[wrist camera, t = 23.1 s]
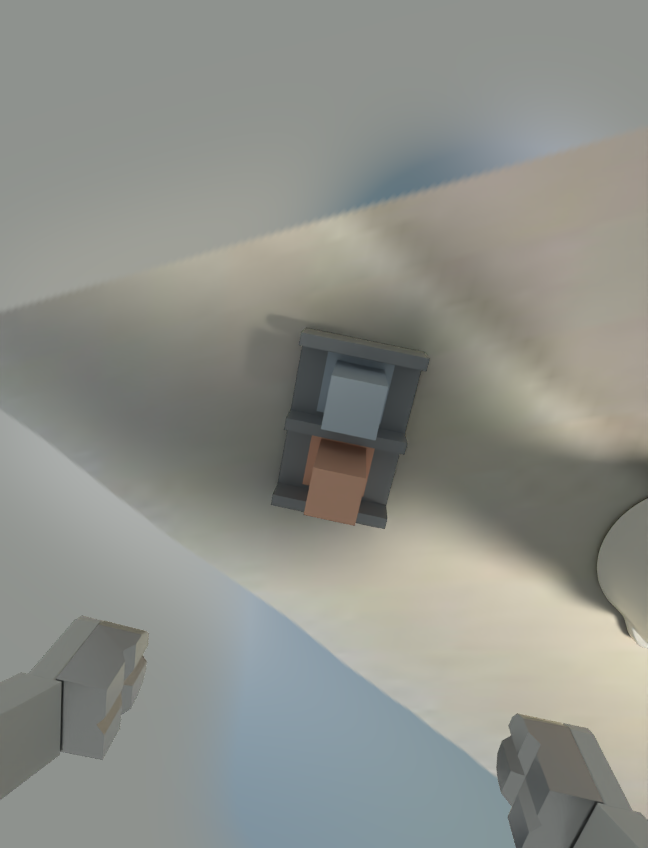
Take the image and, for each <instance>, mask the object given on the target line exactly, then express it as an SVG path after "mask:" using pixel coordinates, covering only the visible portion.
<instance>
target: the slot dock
mask: <svg viewBox="0 0 648 848" xmlns="http://www.w3.org/2000/svg"><path fill="white" fill-rule="evenodd" d="M299 345H301V346H302V350H301V356H300V361H299V367H298V373H297V378H296V384H295V390H294V395H293V401H292V407H291V411H290V412H289V414H288V416H287V417H286V422H285V428H284V430H287V435H286V440H285V446H284V452H283V457H282V463H281V469H280V474H279V480H278V484H277V486H276V488H275V491H274V493H273V497H272V502H271V505H274V506H279V507H284V508H288V509H293V510H298V511H302V512H304V511H305V506H306V501H307V496H308V491H309V486H310V481H311V476H312V471H313V466H314V463H315V459H316V455H317V452H318V448H319V445H320V441H321V439H324V440H329V441H334V442H339V443H343V444H348V445H353V446H358V447H362V448H366V482H365V486H364V490H363V494H362V498H361V503H360V507H359V511H358V515H357V519H356V523H358V524H363V525H368V526H372V527H377V528H382V529H385V526H386V522H387V510H386V504H387V500H388V496H389V492H390V488H391V485H392V481H393V477H394V473H395V469H396V465H397V462H398V458H399V454H403V455H404V454H405V450H406V447H407V440H406V436H405V431H406V427H407V423H408V419H409V416H410V412H411V408H412V404H413V400H414V396H415V393H416V389H417V385H418V381H419V377H420V373H421V370H422V371H427V367H428V363H429V360H430V358H429V357H428V356H427V355H426V354H425V352H422V351H417V350H412V349H407V348H403V347H398V346H393V345H388V344H383V343H378V342H373V341H368V340H363V339H359V338H354V337H349V336H344V335H339V334H334V333H329V332H324V331H320V330H315V329H310V328H306V329H305V330H303V331H302V332H301V336H300V342H299ZM337 360H340V361H344V362H349V363H354V364H359V365H364V366H369V367H374V368H378V369H383V370H385V374H386V378H387V383H388V391H387V395H386V399H385V403H384V407H383V412H382V416H381V420H380V424H379V428H378V432H377V436H376V440H371V439H366V438H361V437H356V436H352V435H347V434H342V433H337V432H333V431H328V430H323V429H321V426H322V421H323V416H324V411H325V406H326V401H327V396H328V391H329V386H330V381H331V376H332V373H333V370H334V367H335V364H336V362H337Z"/></svg>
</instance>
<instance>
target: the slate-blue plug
mask: <svg viewBox="0 0 648 848" xmlns="http://www.w3.org/2000/svg"><path fill="white" fill-rule="evenodd" d="M387 391H388V383H387V378H386V374H385V370H383V369H378V368H374V367H369V366H364V365H359V364H354V363H349V362H344V361H340V360H337V362H336V364H335V367H334V370H333V373H332V376H331V381H330V386H329V391H328V396H327V401H326V406H325V411H324V416H323V421H322V426H321V429H323V430H328V431H333V432H337V433H342V434H347V435H352V436H356V437H361V438H366V439H371V440H376V436H377V432H378V428H379V424H380V420H381V416H382V412H383V407H384V403H385V399H386V395H387Z"/></svg>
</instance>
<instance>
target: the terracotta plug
mask: <svg viewBox="0 0 648 848" xmlns="http://www.w3.org/2000/svg"><path fill="white" fill-rule="evenodd" d="M365 482H366V448H362V447H358V446H353V445H348V444H343V443H339V442H334V441H329V440H324V439H321V441H320V445H319V448H318V452H317V455H316V459H315V463H314V466H313V471H312V476H311V481H310V486H309V491H308V496H307V501H306V506H305V511H304V515H307V516H312V517H317V518H321V519H326V520H331V521H335V522H340V523H344V524H349V525H354V526H355V523H356V519H357V515H358V511H359V507H360V503H361V498H362V494H363V490H364V486H365Z"/></svg>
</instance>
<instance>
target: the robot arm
mask: <svg viewBox="0 0 648 848" xmlns="http://www.w3.org/2000/svg"><path fill="white" fill-rule="evenodd" d="M597 575H598V580H599V584H600V587H601V589H602V591H603V593H604V594H605V596H606V598H607V599H608V600H609V601H610V603H611V604H612V605H613V606H614V607H615V608H616V609H617V610H618V611H619V612H620V613H621V614H622V615H623V617H624V619H625V623H626V627H627V630H628V633H629V635H630V636H631V638H632V639H633V640H634V641H635V642H636V643H637V644H638V645H639V646H641V647H643V648H648V498H647V499H645V500H643V501H642V502H640V503H638V504H637V505H635V506H634V507H632V508H631V509H630V510H628V511H627V512H626V513H625V514H624V515H622V516H621V517H620V518H619V519H618V520H617V522H616V523H615V524H614V525H613V526H612V528H611V529H610V530H609V532H608V533H607V535H606V537H605V539H604V541H603V543H602V545H601V548H600V551H599V555H598V560H597ZM148 637H149V633H148V632H147V631H144V630H140V629H136V628H132V627H128V626H123V625H120V624H115V623H112V622H108V621H102V620H97V619H93V618H89V617H86V616H80V617H79V618H77V619H75V620H74V621H73V622H72V624H71V625H70V626H69V627H68V628H67V630H65V632H64V633H63V634H62V635H61V636H60V637H59V639H58V640H57V641H56V642H55V643H54V645H53V646H52V647H51V648H50V649H49V650H48V651H47V653H46V654H45V655H44V656H43V657H42V659H41V660H40V661H39V662H38V663H37V664H36V665H35V666H34V668H33V669H32V670H31V671H30V672H29V673H28V674H26V673H19V674H17V675H15V676H13V677H11V678H9V679H6V680H4V681H2V682H0V800H1V799H2V798H4V797H5V796H6V795H8V794H9V793H10V792H12V791H13V790H14V789H16V788H17V787H18V786H19V785H21V784H22V783H23V782H25V781H26V780H27V779H29V778H30V777H31V776H32V775H34V774H35V773H36V772H38V771H39V770H40V769H42V768H43V767H44V766H46V765H47V764H48V763H50V762H51V761H52V760H54V759H55V758H56V757H57V756H59V755H60V752H65V753H70V754H75V755H80V756H85V757H90V758H95V759H100V760H103V758H104V756H105V754H106V753H107V751H108V749H109V747H110V746H111V744H112V742H113V740H114V738H115V736H116V735H117V733H118V731H119V729H120V722H121V715H122V714H124V713H125V712H127V711H128V710H129V709H131V707H132V706H133V704H134V702H135V700H136V698H137V696H138V693H139V691H140V688H141V685H142V683H143V679H144V675H145V671H146V660H145V658H144V656H143V653H144V652H145V650H146V648H147V646H148V639H149V638H148ZM509 729H510V733H511V736H510V737H508V738H506V739H505V740H503V741H502V742H501V745H500V748H499V750H498V753H497V767H496V768H497V777H498V782H499V786H500V790H501V793H502V795H503V796H504V797H505V798H506V800H507V801H508V802H509V804H510V805H511V806H512V808H511V810H510V812H509V815H508V820H509V824H510V827H511V831H512V835H513V838H514V842H515V846H516V848H648V820H647V819H646V818H645V817H644V816H643V815H642V814H641V813H640V812H636V811H633V810H632V809H631V807H630V805H629V803H628V801H627V799H626V797H625V795H624V793H623V791H622V789H621V787H620V785H619V783H618V781H617V779H616V777H615V775H614V773H613V771H612V770H611V768H610V766H609V764H608V762H607V760H606V758H605V756H604V754H603V752H602V750H601V748H600V746H599V744H598V742H597V740H596V738H595V736H594V735H593V733H592V732H591V731H590V730H589V729H588V728H584V727H579V726H574V725H570V724H565V723H563V724H562V723H560V722H556V721H551V720H546V719H541V718H537V717H532V716H527V715H522V714H518V713H517V714H516V715H514V716H513V717H512V719H511V721H510V723H509Z"/></svg>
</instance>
